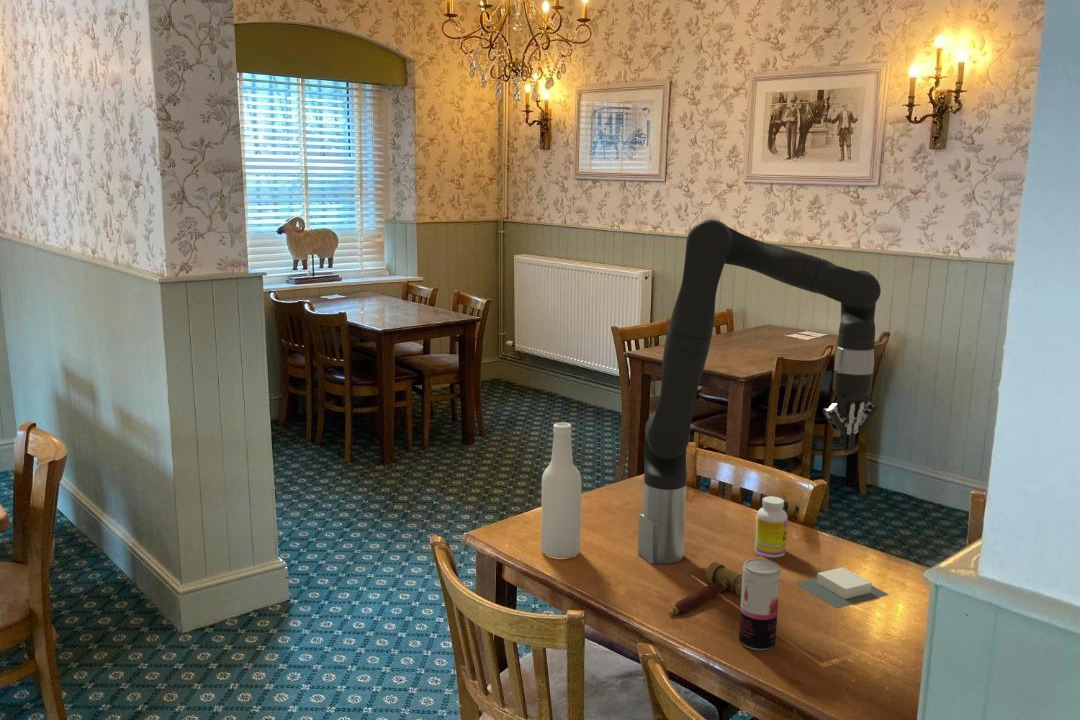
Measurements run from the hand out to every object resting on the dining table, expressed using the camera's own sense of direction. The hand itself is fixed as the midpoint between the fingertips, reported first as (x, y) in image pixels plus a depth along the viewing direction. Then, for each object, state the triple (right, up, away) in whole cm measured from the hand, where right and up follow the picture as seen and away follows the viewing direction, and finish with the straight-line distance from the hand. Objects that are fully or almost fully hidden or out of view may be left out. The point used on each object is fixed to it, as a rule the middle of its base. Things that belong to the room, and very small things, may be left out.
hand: (846, 450), depth 185 cm
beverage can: (-24, -33, -23) cm, 47 cm away
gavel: (-31, -30, -7) cm, 44 cm away
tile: (-5, -27, -4) cm, 28 cm away
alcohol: (-59, -25, +15) cm, 66 cm away
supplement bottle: (-12, -25, +16) cm, 32 cm away
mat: (-2, -29, -2) cm, 29 cm away
